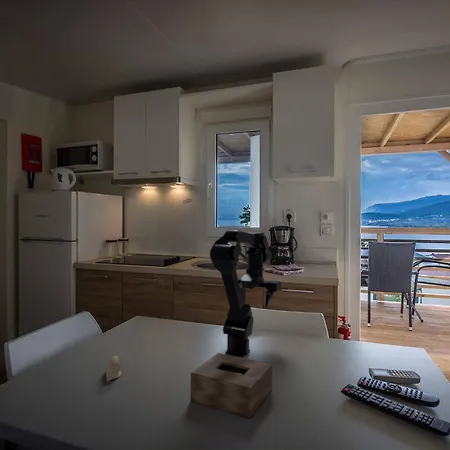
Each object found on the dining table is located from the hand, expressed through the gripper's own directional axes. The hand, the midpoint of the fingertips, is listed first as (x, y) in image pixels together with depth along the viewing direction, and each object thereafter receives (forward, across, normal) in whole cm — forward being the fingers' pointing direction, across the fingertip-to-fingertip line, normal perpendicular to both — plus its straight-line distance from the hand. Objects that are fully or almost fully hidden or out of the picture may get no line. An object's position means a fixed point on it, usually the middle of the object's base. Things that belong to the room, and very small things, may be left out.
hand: (254, 307), depth 126 cm
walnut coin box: (+12, +11, -41) cm, 44 cm away
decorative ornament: (+12, -24, -47) cm, 54 cm away
